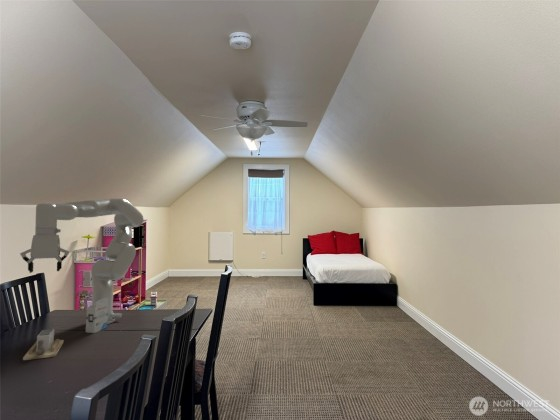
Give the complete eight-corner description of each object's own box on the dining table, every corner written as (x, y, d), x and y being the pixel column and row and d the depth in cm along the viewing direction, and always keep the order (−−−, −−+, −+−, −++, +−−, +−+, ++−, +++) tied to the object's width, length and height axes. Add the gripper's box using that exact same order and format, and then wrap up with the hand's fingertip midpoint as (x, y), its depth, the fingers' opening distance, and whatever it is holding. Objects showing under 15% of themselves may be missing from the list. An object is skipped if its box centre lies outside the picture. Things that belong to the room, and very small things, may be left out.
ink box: (98, 326, 160) (100, 296, 161) (107, 327, 159) (108, 297, 160) (84, 332, 152) (86, 300, 152) (94, 333, 151) (95, 301, 151)
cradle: (63, 342, 139) (64, 327, 139) (55, 356, 124) (56, 340, 125) (35, 345, 135) (36, 330, 135) (22, 360, 120) (23, 343, 121)
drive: (53, 343, 134) (54, 328, 135) (48, 350, 127) (49, 334, 127) (41, 345, 133) (42, 329, 133) (36, 352, 125) (37, 335, 126)
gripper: (70, 231, 148) (69, 269, 148) (23, 231, 141) (22, 271, 141) (68, 232, 142) (67, 271, 141) (18, 232, 134) (17, 274, 134)
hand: (45, 271), depth 141 cm, fingers open, 9 cm apart
